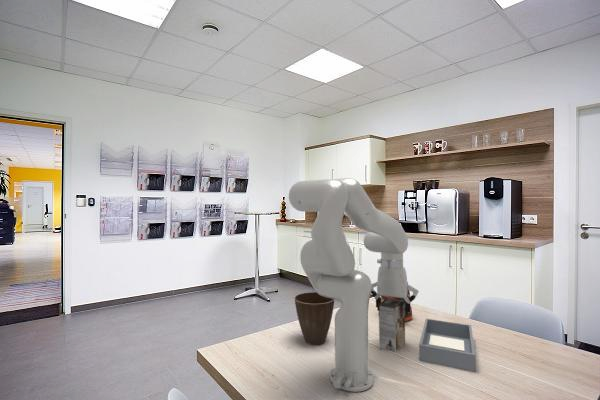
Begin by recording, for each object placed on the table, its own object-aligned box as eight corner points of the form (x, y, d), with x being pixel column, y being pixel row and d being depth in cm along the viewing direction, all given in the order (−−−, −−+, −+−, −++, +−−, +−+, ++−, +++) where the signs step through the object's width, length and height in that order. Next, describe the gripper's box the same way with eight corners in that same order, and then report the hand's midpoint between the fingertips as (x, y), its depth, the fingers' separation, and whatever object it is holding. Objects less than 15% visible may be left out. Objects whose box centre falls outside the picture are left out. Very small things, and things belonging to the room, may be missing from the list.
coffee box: (388, 340, 116) (388, 297, 116) (405, 345, 112) (405, 300, 112) (378, 349, 108) (378, 303, 109) (396, 355, 105) (396, 307, 105)
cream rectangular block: (464, 367, 95) (464, 350, 95) (429, 360, 99) (429, 344, 99) (463, 355, 102) (463, 340, 102) (430, 349, 106) (430, 334, 106)
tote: (475, 375, 92) (475, 355, 92) (419, 363, 99) (419, 344, 99) (471, 341, 115) (471, 325, 115) (425, 333, 122) (425, 318, 122)
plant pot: (289, 347, 110) (289, 302, 111) (299, 330, 125) (299, 290, 125) (331, 351, 107) (331, 305, 107) (337, 334, 121) (336, 293, 122)
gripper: (365, 263, 111) (366, 311, 111) (416, 267, 104) (417, 319, 104) (370, 259, 118) (371, 304, 118) (419, 263, 110) (419, 311, 110)
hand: (393, 311), depth 111 cm, fingers open, 9 cm apart
